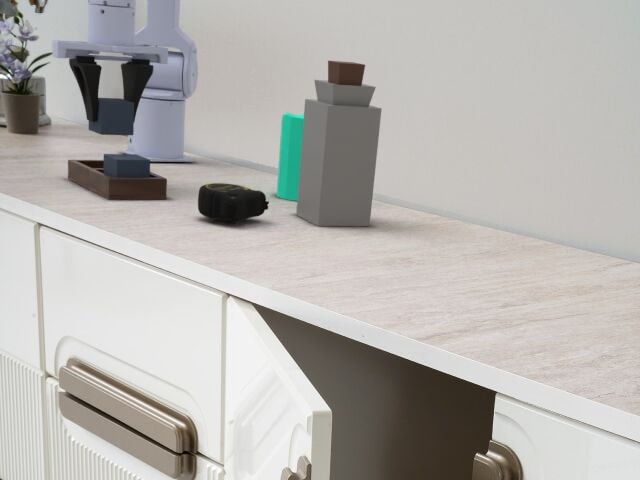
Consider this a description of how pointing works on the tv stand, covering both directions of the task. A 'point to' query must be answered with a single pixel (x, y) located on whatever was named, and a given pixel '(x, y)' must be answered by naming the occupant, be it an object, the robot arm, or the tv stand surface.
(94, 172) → the holder
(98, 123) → the slate blue cube
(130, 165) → the dark blue cube
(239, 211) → the tape measure
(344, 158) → the perfume bottle
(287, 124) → the candle
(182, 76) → the robot arm
